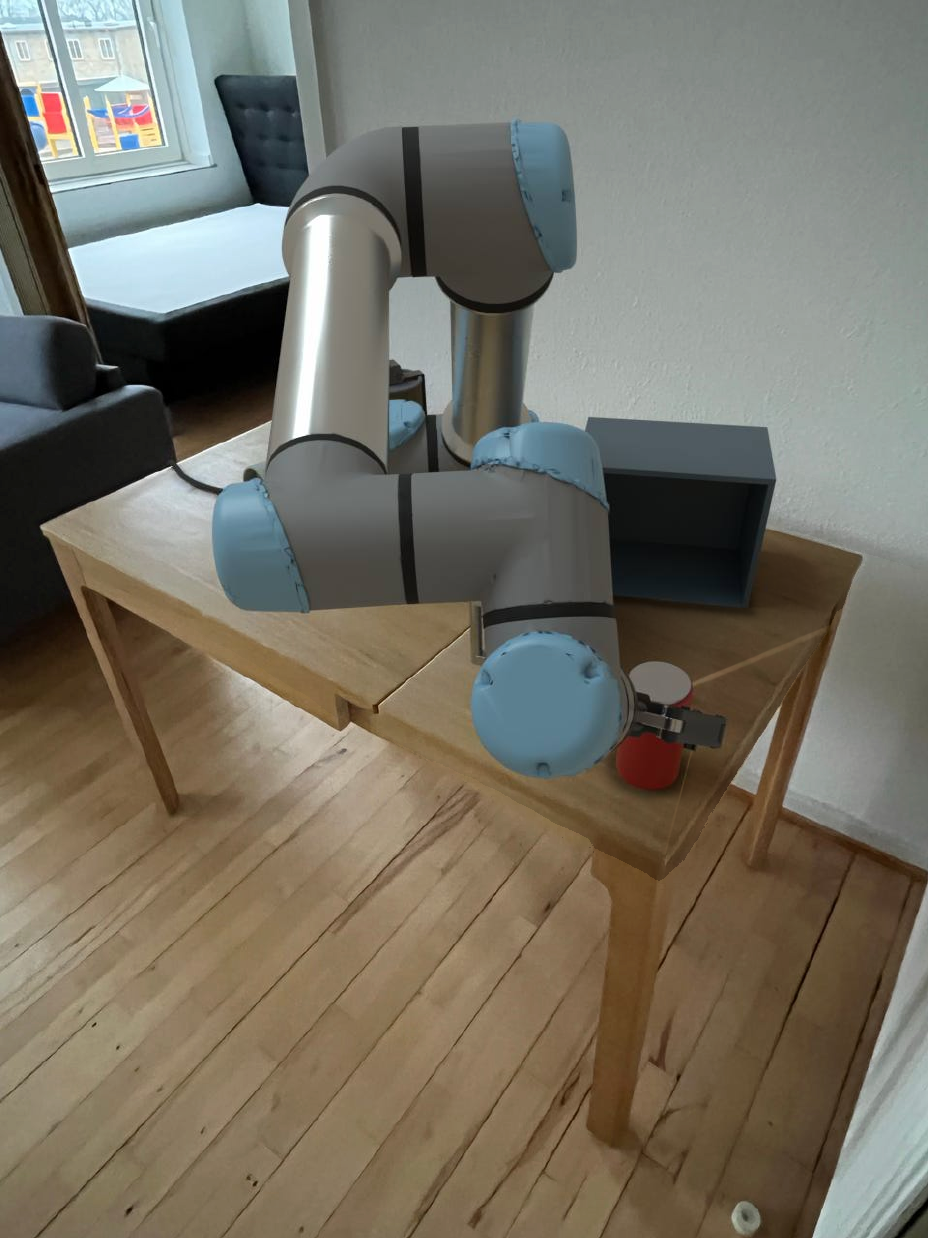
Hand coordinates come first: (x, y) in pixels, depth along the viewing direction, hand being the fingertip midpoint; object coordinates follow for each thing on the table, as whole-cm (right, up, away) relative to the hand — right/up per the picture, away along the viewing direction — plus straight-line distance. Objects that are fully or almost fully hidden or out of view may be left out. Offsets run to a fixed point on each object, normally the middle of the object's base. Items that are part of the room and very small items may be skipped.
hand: (608, 702), depth 75 cm
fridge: (+14, +14, +40) cm, 45 cm away
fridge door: (-6, +5, +28) cm, 29 cm away
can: (+6, -8, +11) cm, 15 cm away
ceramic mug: (-46, +28, +61) cm, 81 cm away
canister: (-25, +33, +67) cm, 79 cm away
